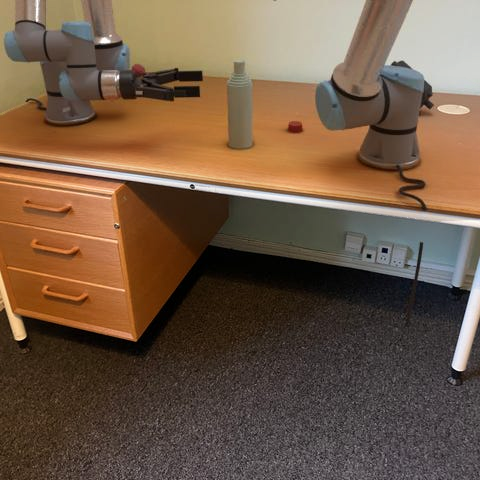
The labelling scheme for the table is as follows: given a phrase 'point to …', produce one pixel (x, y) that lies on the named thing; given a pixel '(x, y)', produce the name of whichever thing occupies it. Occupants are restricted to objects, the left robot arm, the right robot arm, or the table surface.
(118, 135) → the table surface
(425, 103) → the tool
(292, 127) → the cap
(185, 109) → the table surface
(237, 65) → the bottle
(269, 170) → the table surface
